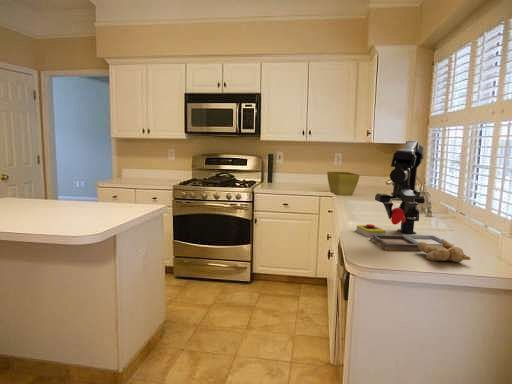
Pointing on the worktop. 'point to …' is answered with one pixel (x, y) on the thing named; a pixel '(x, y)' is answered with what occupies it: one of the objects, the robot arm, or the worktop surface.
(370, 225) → the emergency button
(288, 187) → the worktop surface
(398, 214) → the red rounded lump
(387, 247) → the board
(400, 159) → the robot arm
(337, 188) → the flower pot
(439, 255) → the ginger root
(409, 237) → the tray
